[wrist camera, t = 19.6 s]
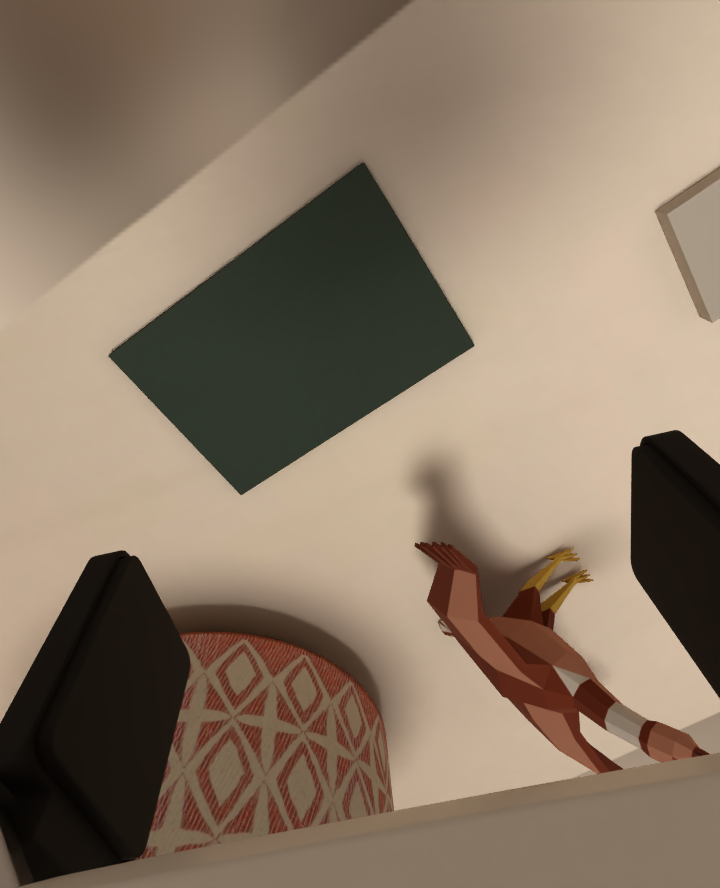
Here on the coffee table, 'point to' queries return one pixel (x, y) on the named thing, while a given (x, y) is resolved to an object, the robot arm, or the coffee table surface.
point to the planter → (267, 746)
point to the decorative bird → (541, 663)
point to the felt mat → (297, 335)
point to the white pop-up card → (697, 241)
